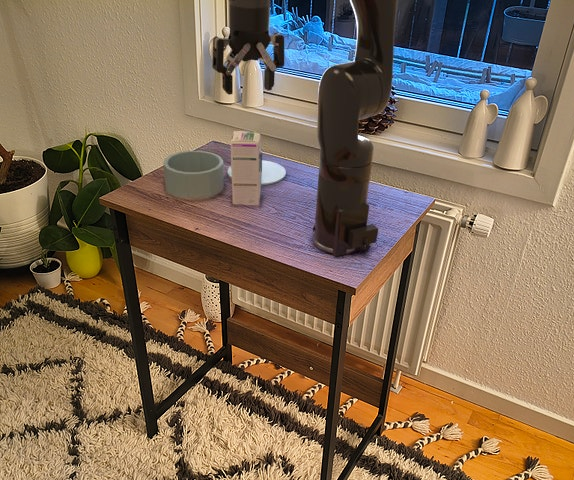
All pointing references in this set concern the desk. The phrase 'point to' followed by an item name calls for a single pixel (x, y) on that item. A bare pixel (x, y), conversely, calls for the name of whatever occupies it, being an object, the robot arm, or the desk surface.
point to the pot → (193, 174)
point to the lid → (268, 172)
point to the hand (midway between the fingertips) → (248, 91)
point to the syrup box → (246, 167)
